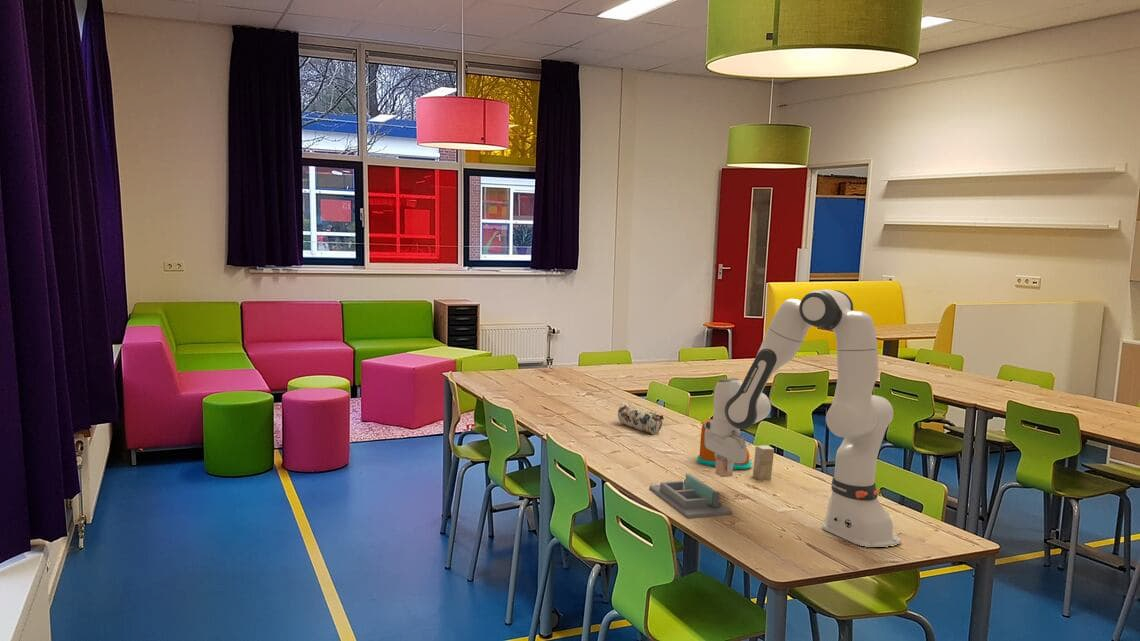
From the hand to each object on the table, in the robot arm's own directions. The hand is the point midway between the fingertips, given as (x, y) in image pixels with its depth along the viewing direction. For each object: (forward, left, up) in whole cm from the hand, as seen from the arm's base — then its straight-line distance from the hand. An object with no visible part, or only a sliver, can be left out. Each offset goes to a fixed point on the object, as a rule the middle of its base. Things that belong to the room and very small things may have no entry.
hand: (724, 469), depth 254 cm
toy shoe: (+27, -17, -8) cm, 32 cm away
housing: (-5, +15, -8) cm, 18 cm away
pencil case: (+77, -6, -8) cm, 78 cm away
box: (+10, -22, -8) cm, 25 cm away
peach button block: (0, 0, -2) cm, 2 cm away
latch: (-5, +12, -6) cm, 14 cm away
